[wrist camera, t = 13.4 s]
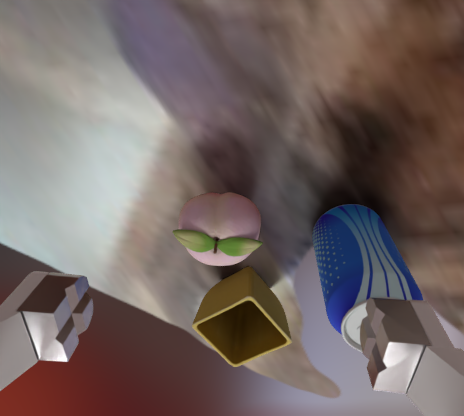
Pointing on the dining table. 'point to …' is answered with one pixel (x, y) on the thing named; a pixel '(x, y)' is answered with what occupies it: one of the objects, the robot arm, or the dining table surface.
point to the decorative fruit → (219, 228)
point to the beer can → (358, 267)
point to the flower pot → (242, 318)
